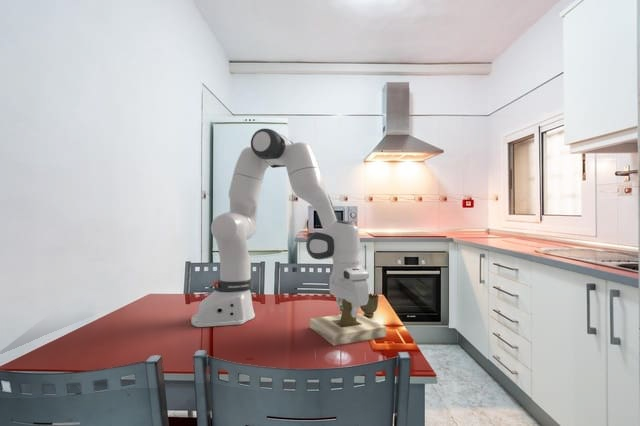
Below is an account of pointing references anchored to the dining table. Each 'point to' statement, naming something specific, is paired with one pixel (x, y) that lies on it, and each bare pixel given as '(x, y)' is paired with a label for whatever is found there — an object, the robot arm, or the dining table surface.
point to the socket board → (347, 329)
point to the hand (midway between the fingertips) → (347, 313)
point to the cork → (347, 315)
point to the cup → (370, 305)
